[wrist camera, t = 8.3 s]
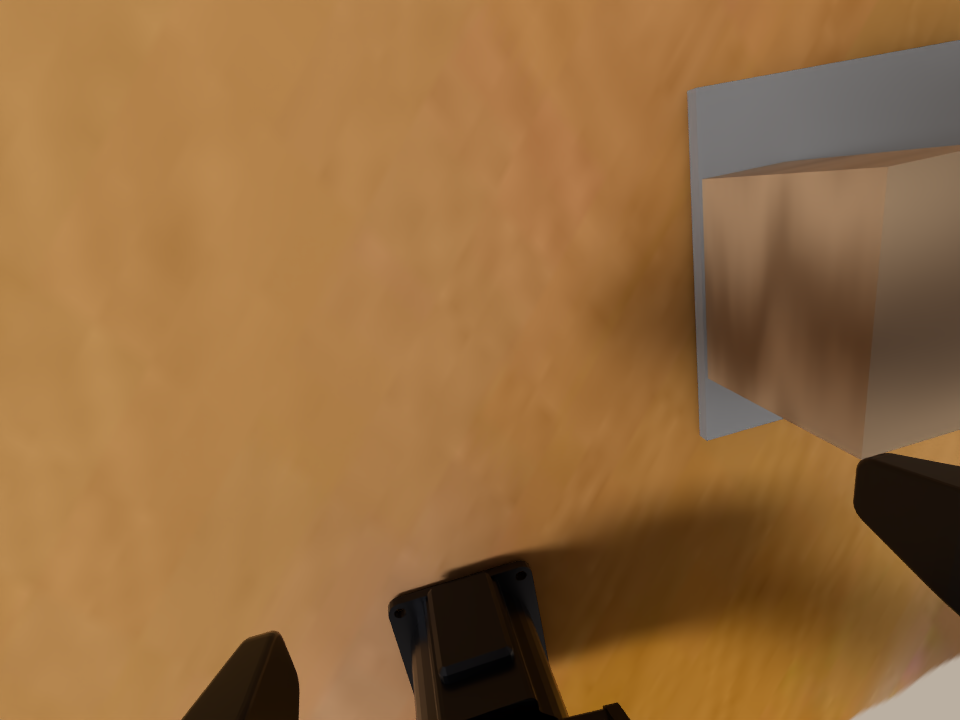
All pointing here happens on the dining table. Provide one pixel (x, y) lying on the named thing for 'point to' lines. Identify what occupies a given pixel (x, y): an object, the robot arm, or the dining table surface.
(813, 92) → the rubber mat
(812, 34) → the dining table surface
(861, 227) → the light brown wooden block
